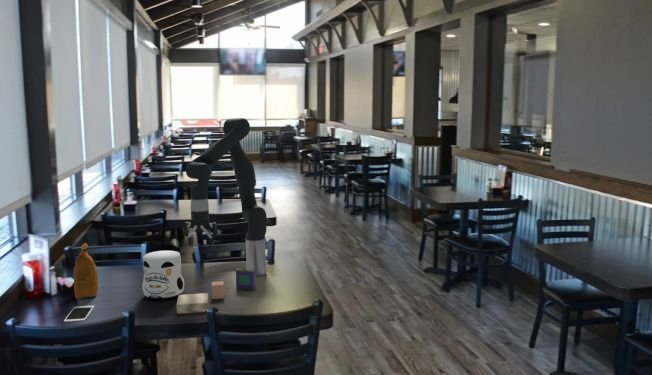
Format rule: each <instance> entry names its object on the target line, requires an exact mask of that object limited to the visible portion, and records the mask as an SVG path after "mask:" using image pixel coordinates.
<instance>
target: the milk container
mask: <svg viewBox="0 0 652 375" xmlns="http://www.w3.org/2000/svg"><path fill="white" fill-rule="evenodd" d="M142 264H143V280H142V286H141V287H142V288H141V290H142V293H143V295H144V296H145V297H146V298H148V299H150V300H151V299H152V300H167V299H173V298H176V297H178V295H182V294H183V292H184V290H185V280H184V277H183V273H182V272H183V271H182V258H181V254H180V252H179V251H175V250H157V251H152V252H148V253H146V254H144V255H143V257H142Z"/></svg>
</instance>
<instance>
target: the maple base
mask: <svg viewBox="0 0 652 375" xmlns="http://www.w3.org/2000/svg"><path fill="white" fill-rule="evenodd" d="M176 301H177V302H176V314H177V315H178V314H191V313H192V314H193V313H204V312H205V311H206V310H207V309H208V310H209V292H206V293H205V292H203V293H202V292H201V293H189V294H186V293H185V294H180V295H178V296H177V300H176ZM205 313H206V312H205Z"/></svg>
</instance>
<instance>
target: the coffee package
mask: <svg viewBox="0 0 652 375" xmlns="http://www.w3.org/2000/svg"><path fill="white" fill-rule="evenodd" d="M88 247H89V244H88V243H86V242H84V243H83V244H82V245H81V246H80V250H81V251H80V253H79V255H78V257H77V258H76V261H75V263H74V270H73V292H74V298H75V299H76V300H80V299H84V298H86V299H87V298H92V297H96V296H97V294H98V290H99V277H98V276H99V275H98V271H97V266H96V263H95V261H94V259H93V258H92V256H91V255H89V253H88V250H87V248H88Z"/></svg>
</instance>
